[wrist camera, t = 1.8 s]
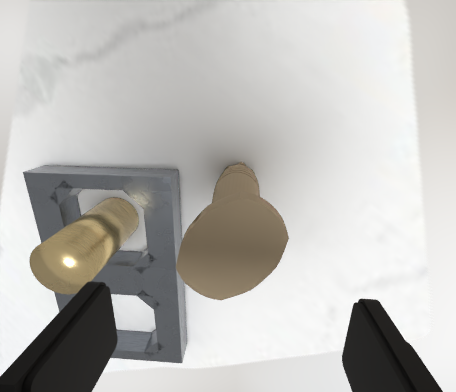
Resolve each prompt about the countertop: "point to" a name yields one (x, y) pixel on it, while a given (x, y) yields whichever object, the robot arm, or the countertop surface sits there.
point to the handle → (232, 239)
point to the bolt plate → (126, 260)
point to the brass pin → (83, 246)
